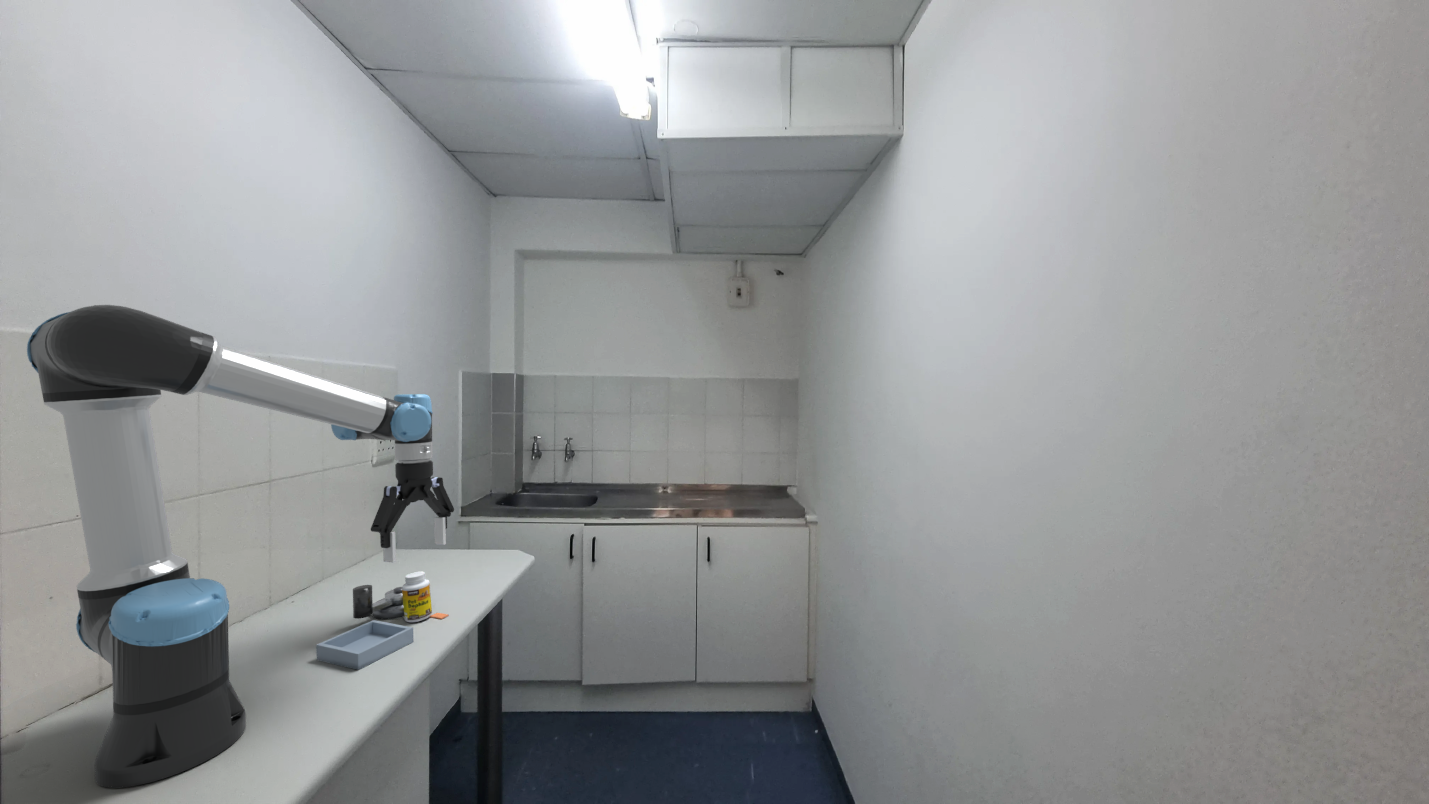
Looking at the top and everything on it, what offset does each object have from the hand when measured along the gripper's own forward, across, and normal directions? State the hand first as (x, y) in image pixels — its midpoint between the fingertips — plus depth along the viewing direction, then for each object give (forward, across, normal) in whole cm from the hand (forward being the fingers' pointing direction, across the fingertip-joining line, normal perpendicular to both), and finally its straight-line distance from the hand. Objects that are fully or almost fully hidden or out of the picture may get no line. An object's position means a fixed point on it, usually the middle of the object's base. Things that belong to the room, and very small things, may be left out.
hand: (416, 552), depth 119 cm
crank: (+13, -2, +8) cm, 15 cm away
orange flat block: (+15, +2, -4) cm, 16 cm away
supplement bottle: (+15, 0, -1) cm, 15 cm away
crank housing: (+15, +2, +8) cm, 17 cm away
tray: (+15, -15, -3) cm, 22 cm away
